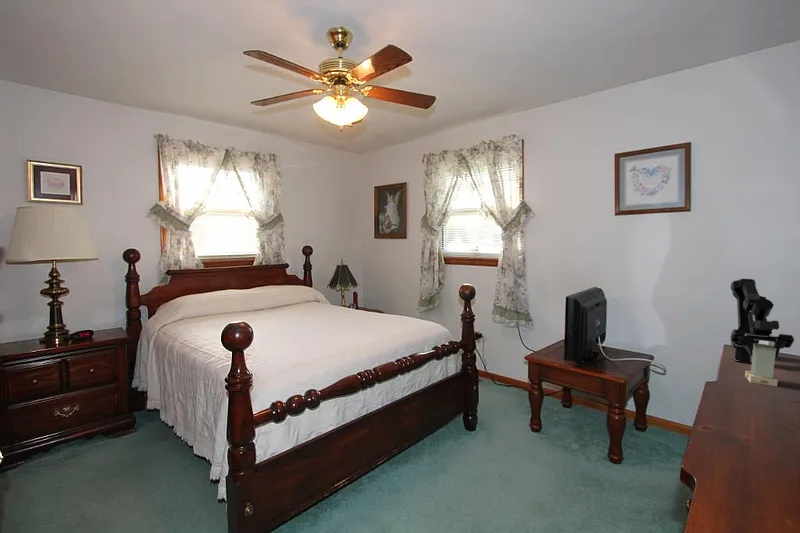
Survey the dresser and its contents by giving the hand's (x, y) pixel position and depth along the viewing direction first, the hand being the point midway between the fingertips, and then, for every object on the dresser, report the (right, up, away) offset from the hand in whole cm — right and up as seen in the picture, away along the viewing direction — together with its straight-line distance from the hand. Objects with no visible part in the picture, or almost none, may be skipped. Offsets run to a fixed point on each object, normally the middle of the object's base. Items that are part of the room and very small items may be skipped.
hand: (763, 356), depth 160 cm
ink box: (+32, -8, +35) cm, 48 cm away
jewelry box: (+1, -11, +2) cm, 11 cm away
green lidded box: (+1, -8, +2) cm, 8 cm away
